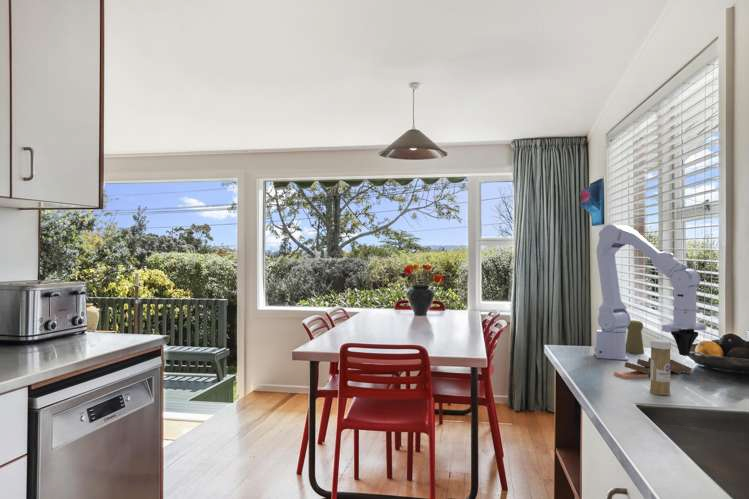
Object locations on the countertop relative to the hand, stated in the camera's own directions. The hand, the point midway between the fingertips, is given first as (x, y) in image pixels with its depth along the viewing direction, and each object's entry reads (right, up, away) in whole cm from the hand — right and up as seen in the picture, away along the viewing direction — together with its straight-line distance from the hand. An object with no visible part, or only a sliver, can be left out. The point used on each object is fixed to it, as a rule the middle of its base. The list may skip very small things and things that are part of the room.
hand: (684, 355), depth 149 cm
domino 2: (-15, -5, -4) cm, 16 cm away
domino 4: (-3, -4, -1) cm, 6 cm away
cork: (-1, -5, +27) cm, 28 cm away
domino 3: (-7, -4, -2) cm, 9 cm away
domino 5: (0, -4, 0) cm, 4 cm away
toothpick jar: (-20, -5, -22) cm, 30 cm away
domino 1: (-12, -4, -4) cm, 13 cm away
